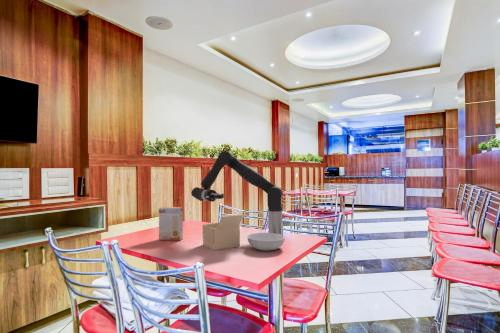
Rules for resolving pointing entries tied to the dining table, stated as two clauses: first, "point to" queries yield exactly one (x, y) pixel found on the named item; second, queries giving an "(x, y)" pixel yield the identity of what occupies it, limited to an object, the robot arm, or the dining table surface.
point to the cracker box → (170, 223)
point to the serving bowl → (266, 241)
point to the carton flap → (230, 221)
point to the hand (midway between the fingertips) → (221, 196)
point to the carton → (220, 237)
